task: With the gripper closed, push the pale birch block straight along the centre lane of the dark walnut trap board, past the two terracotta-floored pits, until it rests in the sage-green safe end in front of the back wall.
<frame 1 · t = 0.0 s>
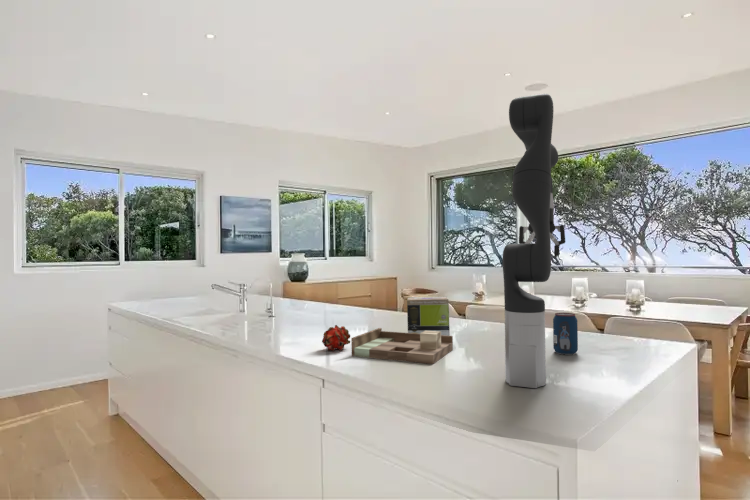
hand: (542, 257, 152), 29 cm above the worktop, tool pointing down, fingers open, 8 cm apart
dragon fruit: (335, 350, 150), on the worktop
soda can: (565, 353, 142), on the worktop
tea box: (428, 338, 169), on the worktop
trap board: (403, 352, 145), on the worktop
birch block: (430, 347, 141), point 2 cm above the worktop, touching trap board
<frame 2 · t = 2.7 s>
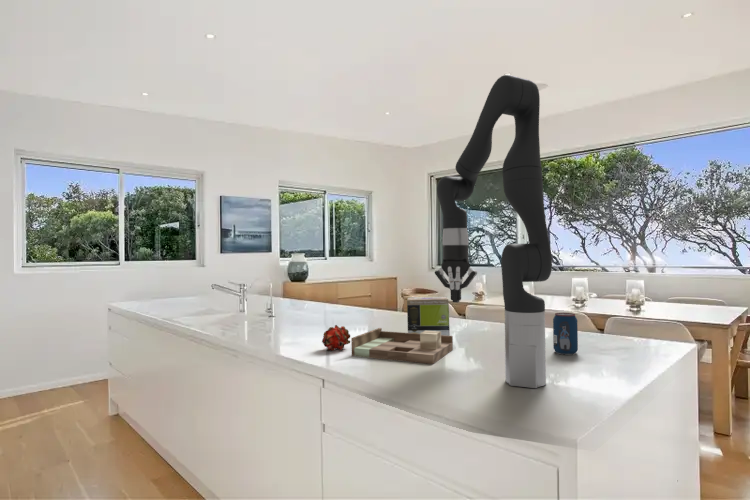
hand: (456, 302, 137), 16 cm above the worktop, tool pointing down, fingers closed
nothing on the worktop moved.
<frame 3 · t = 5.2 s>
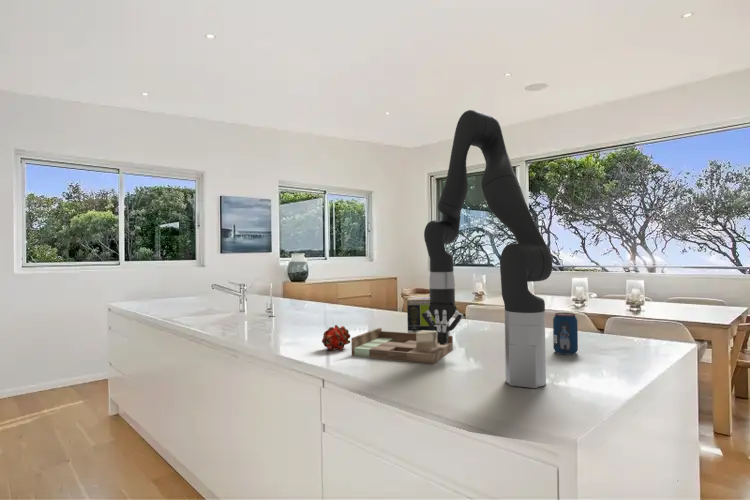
hand: (443, 344, 139), 4 cm above the worktop, tool pointing down, fingers closed
birch block: (426, 346, 141), point 3 cm above the worktop, touching gripper, trap board
everything else where it was.
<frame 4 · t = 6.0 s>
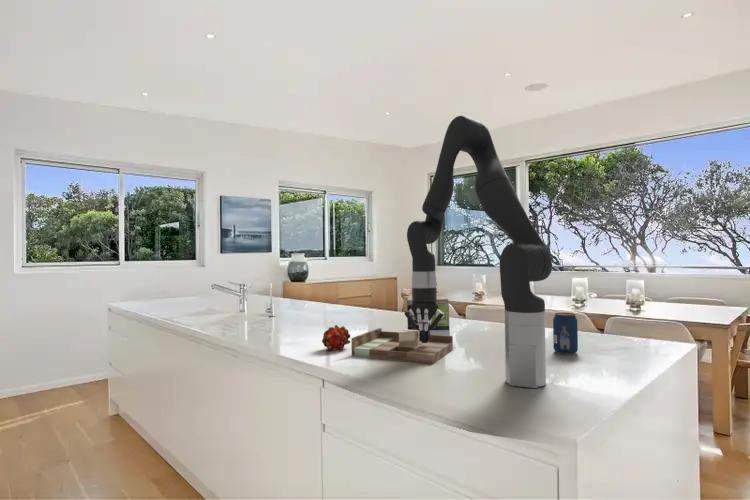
hand: (425, 342, 142), 4 cm above the worktop, tool pointing down, fingers closed
birch block: (409, 345, 143), point 3 cm above the worktop, touching gripper
everything else where it was.
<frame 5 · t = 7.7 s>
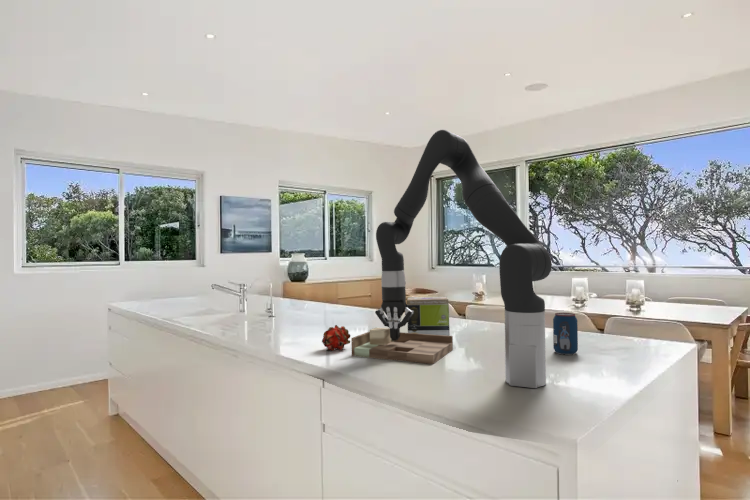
hand: (395, 340, 146), 4 cm above the worktop, tool pointing down, fingers closed
birch block: (380, 343, 148), point 3 cm above the worktop, touching gripper
everything else where it was.
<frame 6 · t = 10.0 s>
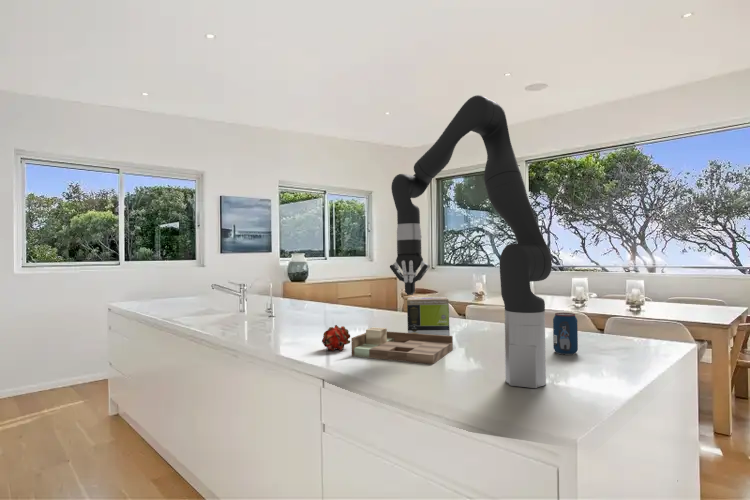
hand: (410, 294, 143), 18 cm above the worktop, tool pointing down, fingers closed
birch block: (376, 342, 148), point 2 cm above the worktop, touching trap board
everything else where it was.
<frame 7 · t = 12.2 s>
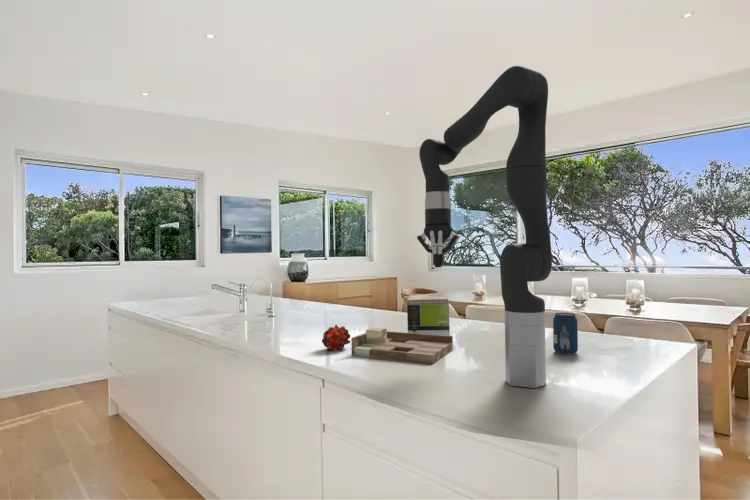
hand: (438, 267, 136), 27 cm above the worktop, tool pointing down, fingers closed
nothing on the worktop moved.
at the end: birch block 0.4 cm from the target spot on the trap board, point 2.5 cm above the trap board's base; birch block tilted 0°; birch block moved 18.1 cm from its start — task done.
